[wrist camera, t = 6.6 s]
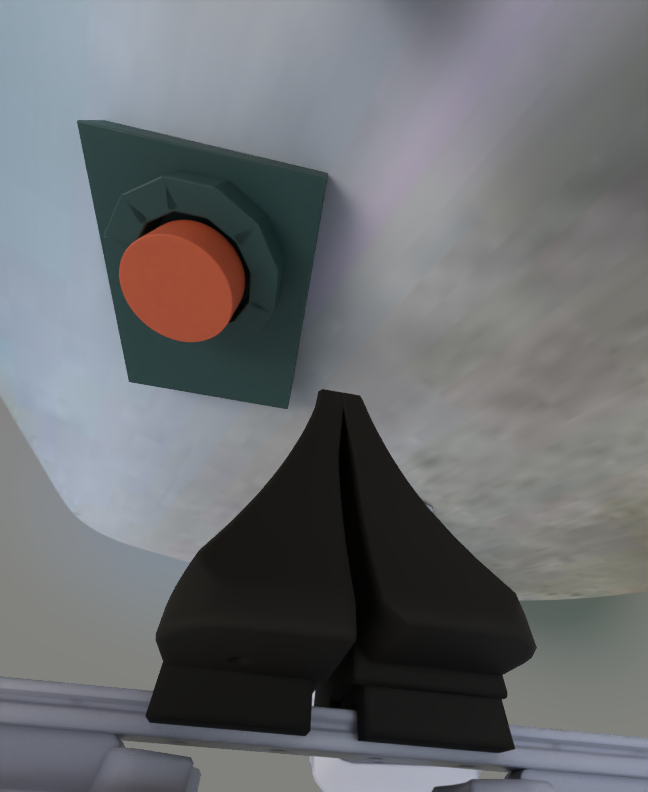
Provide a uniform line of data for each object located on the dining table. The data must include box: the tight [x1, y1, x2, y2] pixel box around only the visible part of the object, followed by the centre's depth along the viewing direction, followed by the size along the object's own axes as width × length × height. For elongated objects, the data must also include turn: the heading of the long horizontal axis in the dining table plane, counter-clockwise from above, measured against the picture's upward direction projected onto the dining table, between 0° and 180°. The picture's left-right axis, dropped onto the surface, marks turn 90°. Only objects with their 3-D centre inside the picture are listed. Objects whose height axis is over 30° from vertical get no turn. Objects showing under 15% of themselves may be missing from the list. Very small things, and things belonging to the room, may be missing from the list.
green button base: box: [77, 120, 328, 409], centre depth 18 cm, size 13×10×4 cm
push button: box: [119, 220, 245, 342], centre depth 14 cm, size 4×4×2 cm
